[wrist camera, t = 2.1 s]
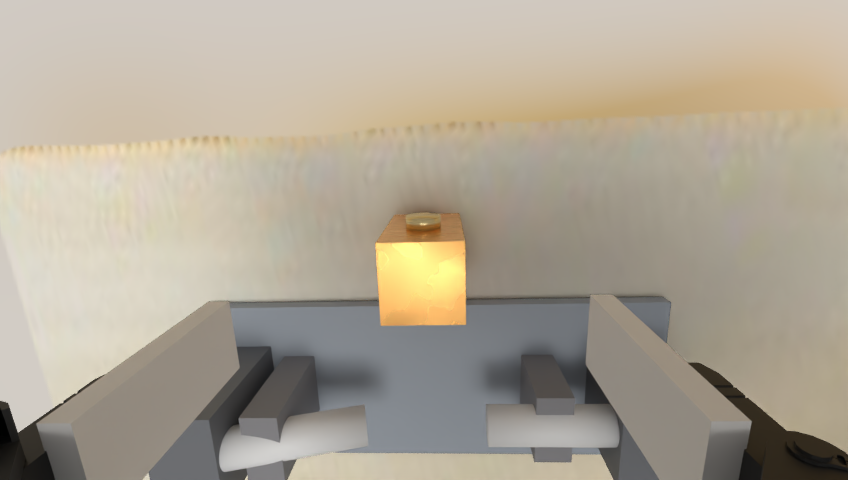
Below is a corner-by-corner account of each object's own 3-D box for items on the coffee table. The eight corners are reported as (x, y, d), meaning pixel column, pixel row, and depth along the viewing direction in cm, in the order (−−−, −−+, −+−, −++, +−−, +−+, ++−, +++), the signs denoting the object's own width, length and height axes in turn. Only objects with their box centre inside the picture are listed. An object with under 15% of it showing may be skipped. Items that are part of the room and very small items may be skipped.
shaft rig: (663, 296, 28) (762, 366, 19) (647, 444, 31) (727, 564, 22) (215, 302, 30) (120, 369, 21) (237, 442, 33) (162, 552, 24)
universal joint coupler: (394, 204, 28) (374, 229, 20) (459, 202, 27) (465, 227, 20) (398, 285, 29) (381, 338, 21) (460, 284, 29) (466, 337, 21)
